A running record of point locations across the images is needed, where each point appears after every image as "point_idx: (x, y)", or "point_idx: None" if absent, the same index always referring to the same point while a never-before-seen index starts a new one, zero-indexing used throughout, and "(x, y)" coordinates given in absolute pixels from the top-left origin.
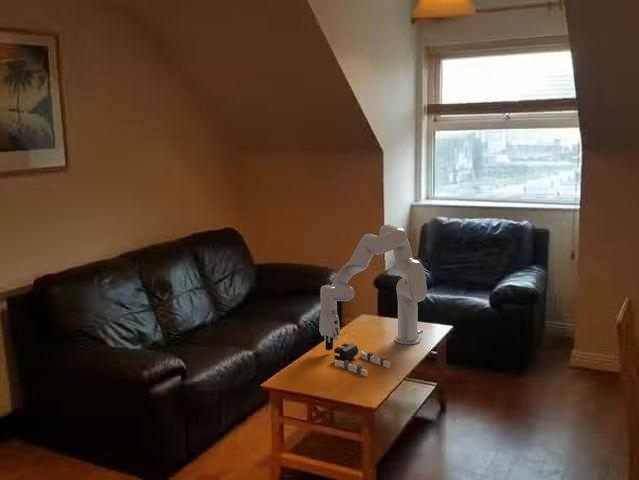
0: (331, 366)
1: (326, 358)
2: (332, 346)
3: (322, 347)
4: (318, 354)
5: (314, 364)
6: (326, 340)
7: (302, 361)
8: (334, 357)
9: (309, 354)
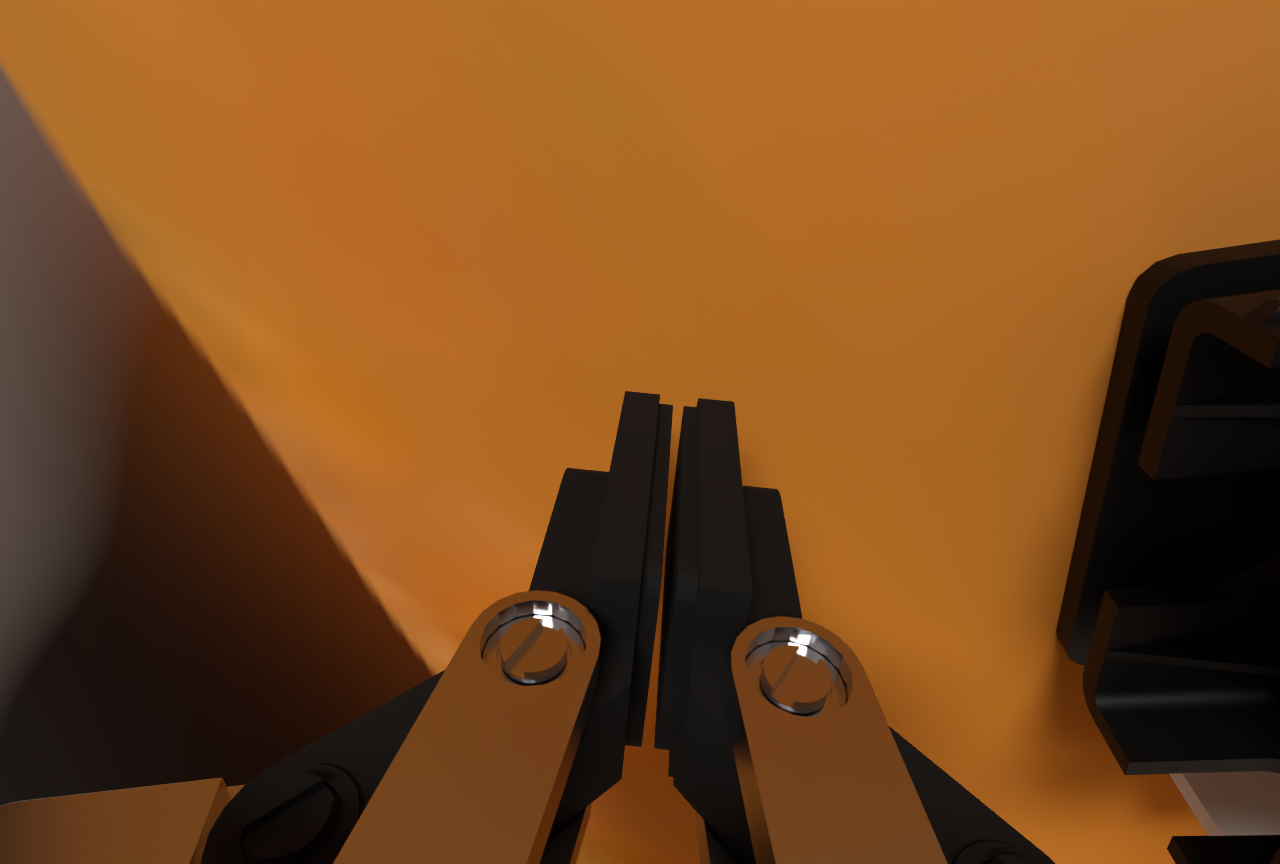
0: (1105, 784)
1: (810, 618)
2: (783, 521)
3: (163, 176)
4: (529, 562)
5: None
6: (593, 798)
7: (590, 827)
8: (1101, 728)
9: (416, 638)
